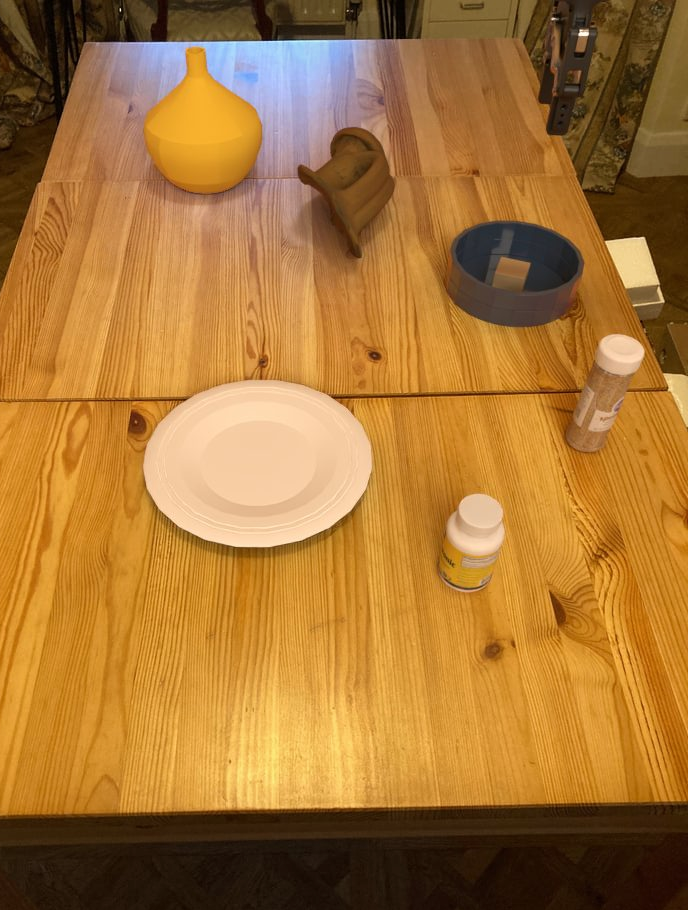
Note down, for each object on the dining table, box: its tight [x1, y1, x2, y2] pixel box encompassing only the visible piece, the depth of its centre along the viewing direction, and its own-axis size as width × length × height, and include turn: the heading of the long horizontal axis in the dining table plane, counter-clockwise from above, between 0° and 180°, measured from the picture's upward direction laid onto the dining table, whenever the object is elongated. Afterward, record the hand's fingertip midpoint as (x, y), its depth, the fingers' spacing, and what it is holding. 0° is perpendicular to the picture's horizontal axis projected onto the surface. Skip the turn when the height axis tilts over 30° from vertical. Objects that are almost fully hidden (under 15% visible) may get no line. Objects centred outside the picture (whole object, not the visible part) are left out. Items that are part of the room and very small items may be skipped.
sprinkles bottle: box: [564, 333, 646, 453], centre depth 83 cm, size 5×5×14 cm
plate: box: [142, 379, 373, 549], centre depth 84 cm, size 25×25×2 cm
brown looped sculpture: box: [296, 126, 396, 259], centre depth 112 cm, size 18×13×22 cm
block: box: [492, 257, 531, 292], centre depth 103 cm, size 4×4×4 cm
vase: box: [142, 45, 263, 195], centre depth 117 cm, size 18×18×19 cm
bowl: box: [444, 219, 585, 328], centre depth 104 cm, size 17×17×6 cm
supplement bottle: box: [437, 493, 506, 593], centre depth 73 cm, size 5×5×10 cm
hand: (551, 117), depth 83 cm, fingers open, 8 cm apart
